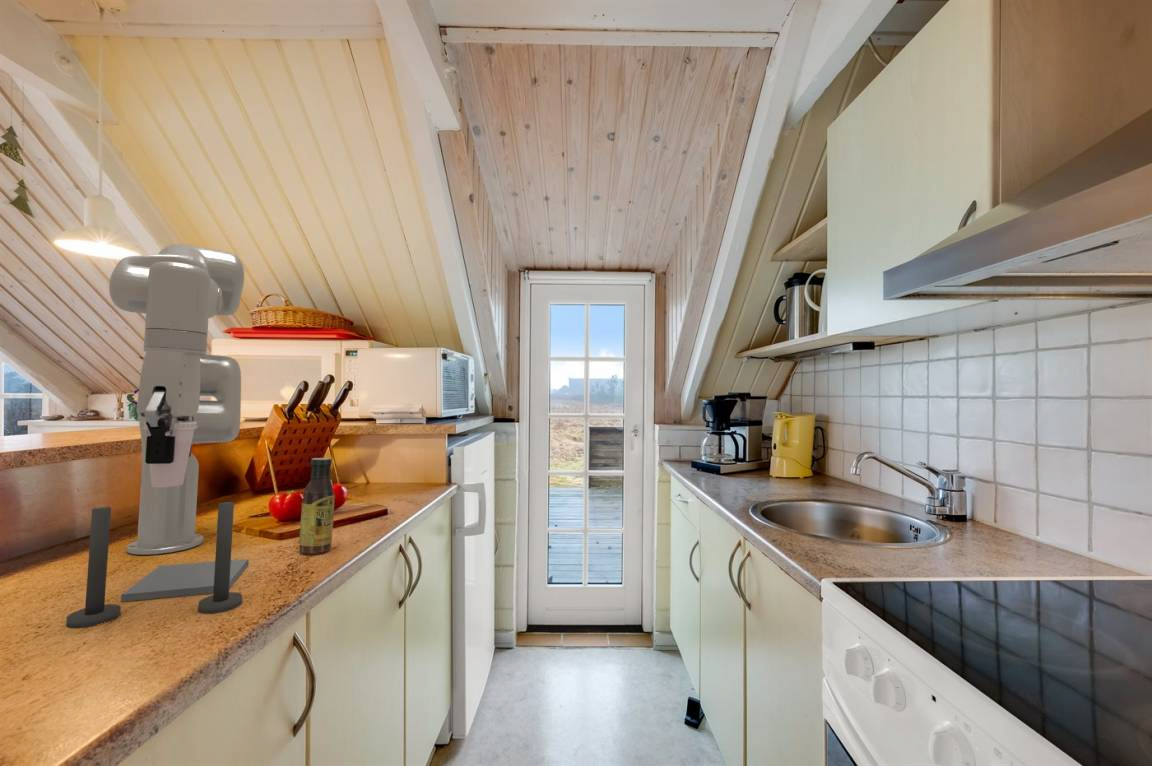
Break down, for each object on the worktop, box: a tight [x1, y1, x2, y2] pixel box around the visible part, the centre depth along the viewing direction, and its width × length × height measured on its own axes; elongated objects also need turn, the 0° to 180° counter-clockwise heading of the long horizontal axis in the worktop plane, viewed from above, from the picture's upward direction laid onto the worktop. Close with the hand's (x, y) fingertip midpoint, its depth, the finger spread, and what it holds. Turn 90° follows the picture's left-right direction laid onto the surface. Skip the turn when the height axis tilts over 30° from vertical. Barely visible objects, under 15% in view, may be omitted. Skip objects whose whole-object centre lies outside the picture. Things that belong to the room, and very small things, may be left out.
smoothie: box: [143, 414, 197, 487], centre depth 75 cm, size 6×6×14 cm
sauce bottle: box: [298, 457, 336, 555], centre depth 105 cm, size 6×6×20 cm
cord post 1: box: [65, 506, 122, 629], centre depth 71 cm, size 6×6×16 cm
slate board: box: [120, 558, 250, 603], centre depth 86 cm, size 14×14×1 cm
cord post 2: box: [197, 501, 243, 614], centre depth 77 cm, size 6×6×16 cm
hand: (169, 459), depth 75 cm, fingers closed on smoothie, 6 cm apart
